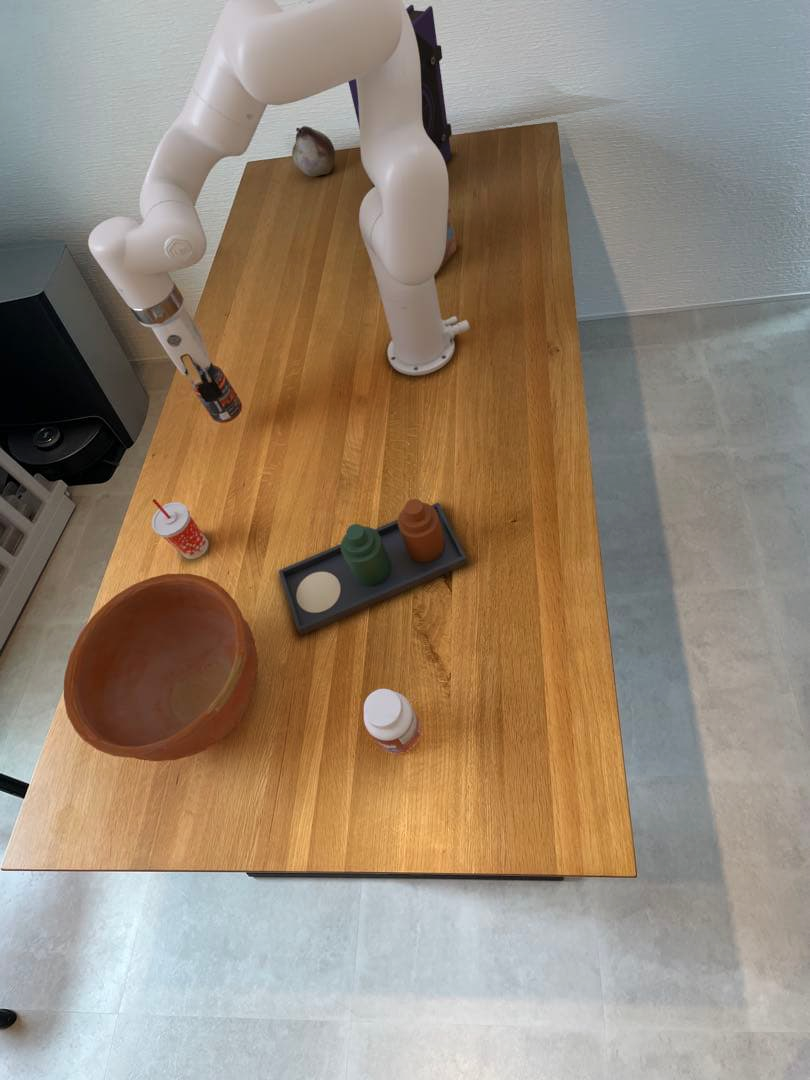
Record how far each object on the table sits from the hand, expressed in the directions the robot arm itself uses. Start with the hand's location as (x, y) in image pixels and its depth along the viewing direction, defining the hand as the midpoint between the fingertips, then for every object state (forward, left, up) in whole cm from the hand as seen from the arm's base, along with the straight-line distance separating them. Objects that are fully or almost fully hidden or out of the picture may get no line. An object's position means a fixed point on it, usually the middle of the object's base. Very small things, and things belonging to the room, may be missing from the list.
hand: (210, 384), depth 116 cm
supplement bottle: (0, 0, -7) cm, 7 cm away
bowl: (+17, +48, -12) cm, 52 cm away
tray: (-13, +40, -12) cm, 44 cm away
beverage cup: (+13, +22, -12) cm, 28 cm away
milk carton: (-47, -25, -12) cm, 55 cm away
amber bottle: (-22, +40, -11) cm, 47 cm away
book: (-56, -51, -12) cm, 77 cm away
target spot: (-4, +40, -11) cm, 42 cm away
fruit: (-38, -71, -12) cm, 82 cm away
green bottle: (-13, +40, -11) cm, 44 cm away
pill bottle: (-8, +65, -12) cm, 67 cm away
